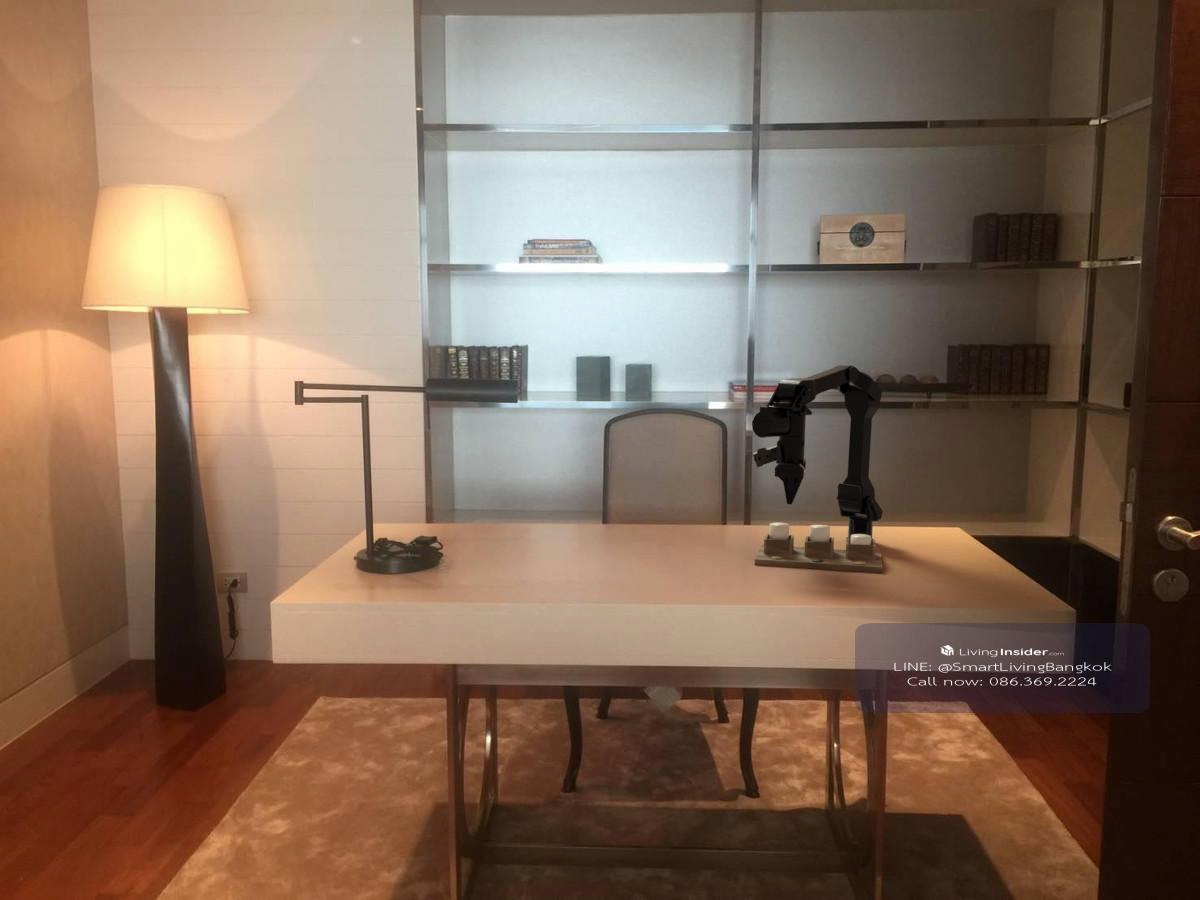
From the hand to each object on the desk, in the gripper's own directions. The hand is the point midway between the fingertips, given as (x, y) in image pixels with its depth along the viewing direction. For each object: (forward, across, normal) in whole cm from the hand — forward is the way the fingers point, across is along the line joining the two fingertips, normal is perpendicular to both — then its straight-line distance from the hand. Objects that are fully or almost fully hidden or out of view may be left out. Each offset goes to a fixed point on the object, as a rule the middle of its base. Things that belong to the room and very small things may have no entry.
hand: (789, 504), depth 213 cm
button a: (+10, 0, +16) cm, 19 cm away
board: (+12, +1, +7) cm, 14 cm away
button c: (+9, -1, -2) cm, 9 cm away
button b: (+9, 0, +7) cm, 11 cm away
